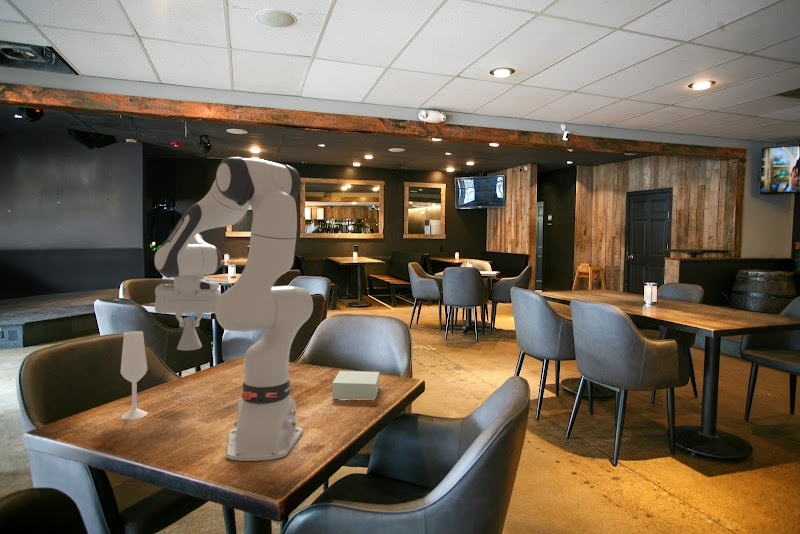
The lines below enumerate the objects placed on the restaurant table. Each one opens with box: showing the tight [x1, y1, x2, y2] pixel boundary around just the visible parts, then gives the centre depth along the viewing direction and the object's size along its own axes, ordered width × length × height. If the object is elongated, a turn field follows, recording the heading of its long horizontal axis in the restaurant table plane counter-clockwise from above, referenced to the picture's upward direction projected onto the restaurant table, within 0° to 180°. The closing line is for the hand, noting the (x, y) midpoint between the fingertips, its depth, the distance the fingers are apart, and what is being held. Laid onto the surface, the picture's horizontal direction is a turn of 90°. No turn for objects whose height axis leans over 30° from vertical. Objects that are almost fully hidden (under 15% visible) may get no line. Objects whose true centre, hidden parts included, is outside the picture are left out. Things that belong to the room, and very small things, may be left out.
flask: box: [176, 316, 203, 351], centre depth 151 cm, size 7×7×10 cm
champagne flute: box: [120, 330, 149, 420], centre depth 134 cm, size 7×7×24 cm
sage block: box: [331, 370, 380, 400], centre depth 157 cm, size 14×14×6 cm
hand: (189, 326), depth 151 cm, fingers closed on flask, 3 cm apart
